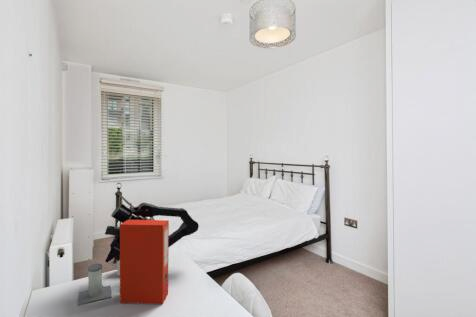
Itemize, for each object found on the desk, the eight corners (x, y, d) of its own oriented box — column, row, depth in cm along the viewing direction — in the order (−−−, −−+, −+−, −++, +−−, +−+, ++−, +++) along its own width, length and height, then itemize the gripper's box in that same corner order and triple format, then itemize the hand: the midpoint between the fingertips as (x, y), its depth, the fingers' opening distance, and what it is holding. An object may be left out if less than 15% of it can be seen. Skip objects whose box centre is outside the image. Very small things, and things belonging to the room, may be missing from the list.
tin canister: (99, 289, 112) (99, 262, 112) (104, 294, 109) (104, 266, 108) (86, 294, 108) (86, 266, 108) (90, 299, 105) (90, 270, 104)
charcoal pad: (110, 286, 116) (110, 285, 116) (111, 297, 107) (111, 296, 107) (79, 293, 110) (79, 291, 110) (77, 305, 101) (77, 304, 101)
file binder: (128, 292, 111) (128, 219, 110) (168, 293, 111) (168, 220, 110) (119, 303, 103) (119, 224, 102) (162, 304, 103) (162, 225, 102)
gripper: (116, 216, 123) (94, 245, 119) (113, 220, 106) (86, 254, 101) (136, 228, 126) (115, 257, 121) (136, 234, 109) (111, 268, 104)
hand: (107, 259), depth 112 cm, fingers open, 9 cm apart
